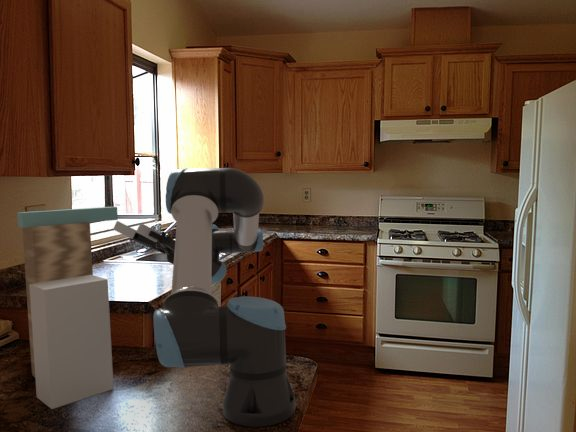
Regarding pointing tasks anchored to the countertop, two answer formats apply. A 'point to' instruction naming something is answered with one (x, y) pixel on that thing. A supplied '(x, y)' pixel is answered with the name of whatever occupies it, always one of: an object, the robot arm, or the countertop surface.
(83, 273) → the oak block
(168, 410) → the countertop surface
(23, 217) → the teal block
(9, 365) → the countertop surface
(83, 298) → the step block
